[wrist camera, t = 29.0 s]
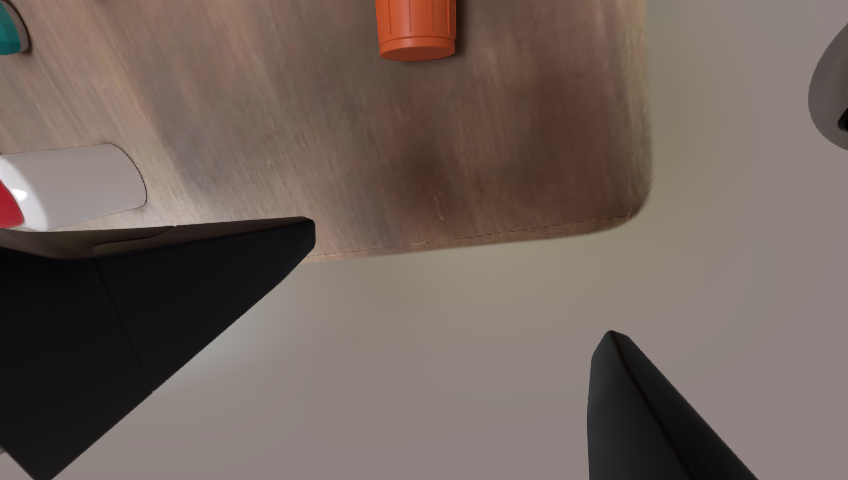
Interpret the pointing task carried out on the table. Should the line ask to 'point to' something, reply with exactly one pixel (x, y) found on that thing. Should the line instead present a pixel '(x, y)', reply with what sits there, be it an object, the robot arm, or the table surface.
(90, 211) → the pill bottle
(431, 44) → the cap
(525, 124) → the table surface
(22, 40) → the beverage can
